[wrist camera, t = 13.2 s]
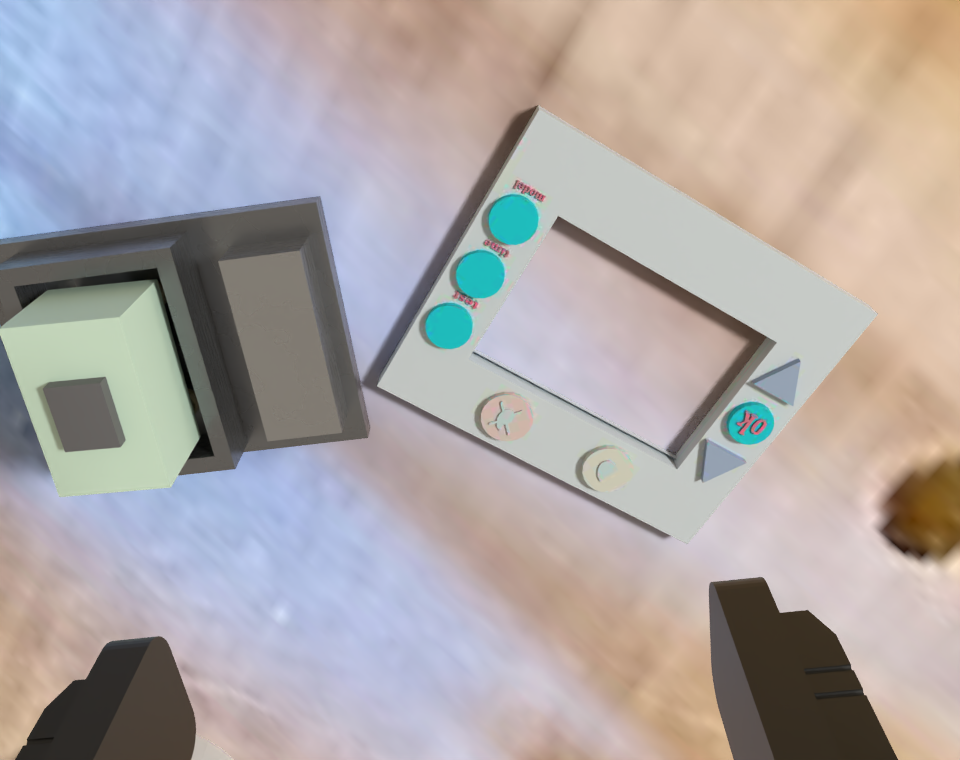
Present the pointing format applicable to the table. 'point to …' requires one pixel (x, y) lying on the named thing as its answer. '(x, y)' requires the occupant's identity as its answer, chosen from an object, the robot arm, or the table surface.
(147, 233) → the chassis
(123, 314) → the module
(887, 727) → the table surface
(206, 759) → the flag stand
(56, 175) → the table surface
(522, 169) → the electronic device
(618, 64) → the table surface
